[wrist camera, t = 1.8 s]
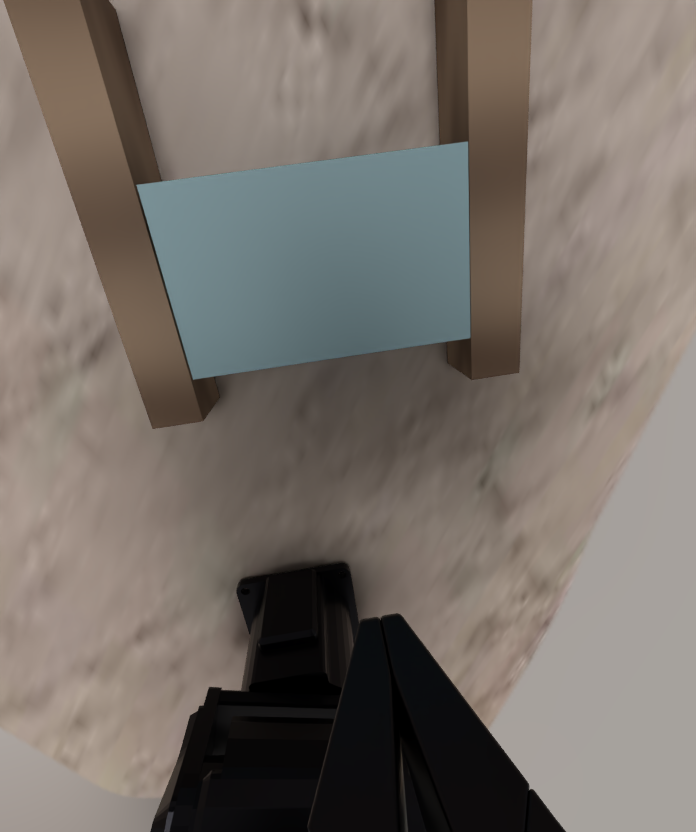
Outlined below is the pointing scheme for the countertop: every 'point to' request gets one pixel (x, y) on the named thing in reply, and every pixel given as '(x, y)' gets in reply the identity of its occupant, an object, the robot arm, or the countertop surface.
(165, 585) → the countertop surface
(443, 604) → the countertop surface
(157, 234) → the slate-blue block
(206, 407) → the walnut chute
